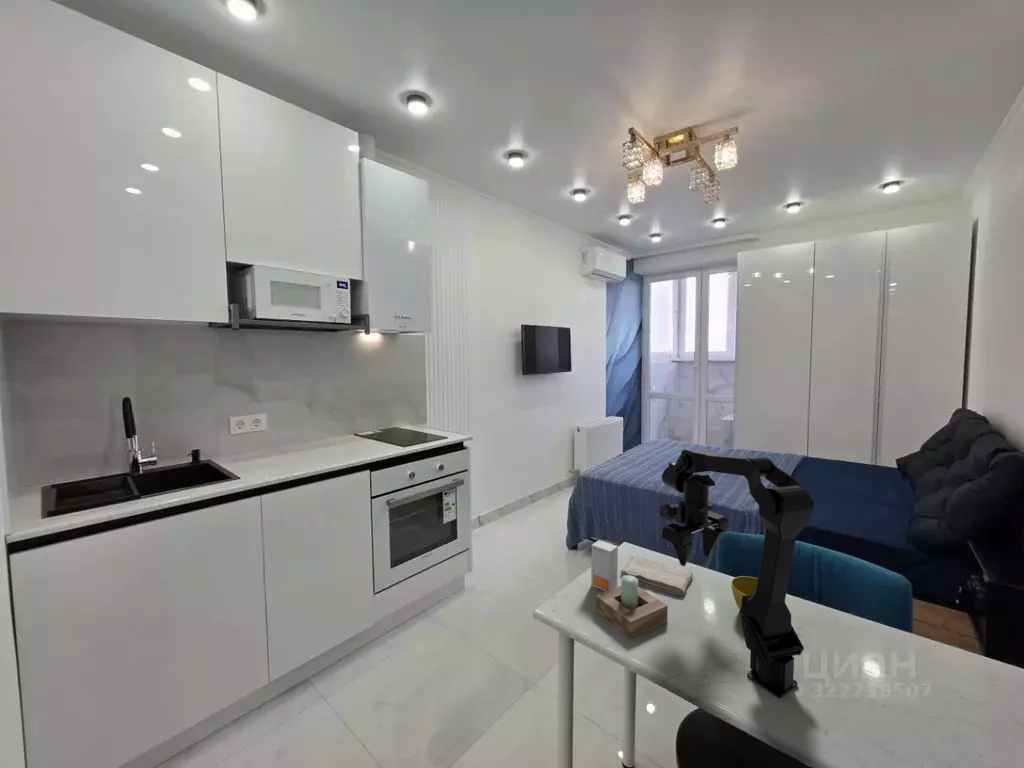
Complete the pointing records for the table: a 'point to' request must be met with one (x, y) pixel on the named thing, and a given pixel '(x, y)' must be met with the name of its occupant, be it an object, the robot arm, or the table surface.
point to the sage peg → (629, 592)
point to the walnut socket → (631, 611)
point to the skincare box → (604, 565)
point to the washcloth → (658, 574)
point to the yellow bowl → (743, 588)
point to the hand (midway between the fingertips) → (694, 560)
